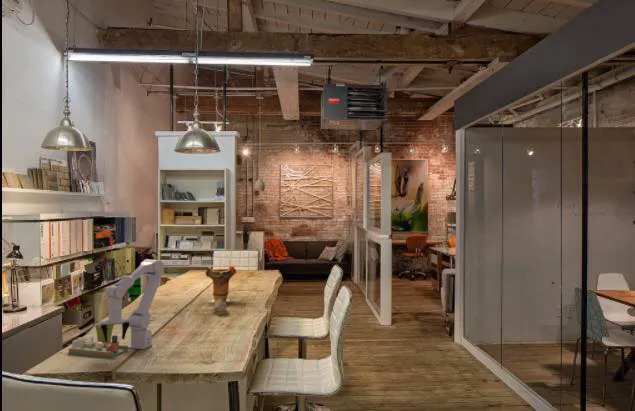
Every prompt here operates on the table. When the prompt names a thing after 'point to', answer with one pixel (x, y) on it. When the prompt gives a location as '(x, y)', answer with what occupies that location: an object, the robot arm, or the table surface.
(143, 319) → the robot arm
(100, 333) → the plant pot
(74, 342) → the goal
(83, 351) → the pitch
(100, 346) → the ball
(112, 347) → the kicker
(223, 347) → the table surface
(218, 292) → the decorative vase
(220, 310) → the ceramic model
